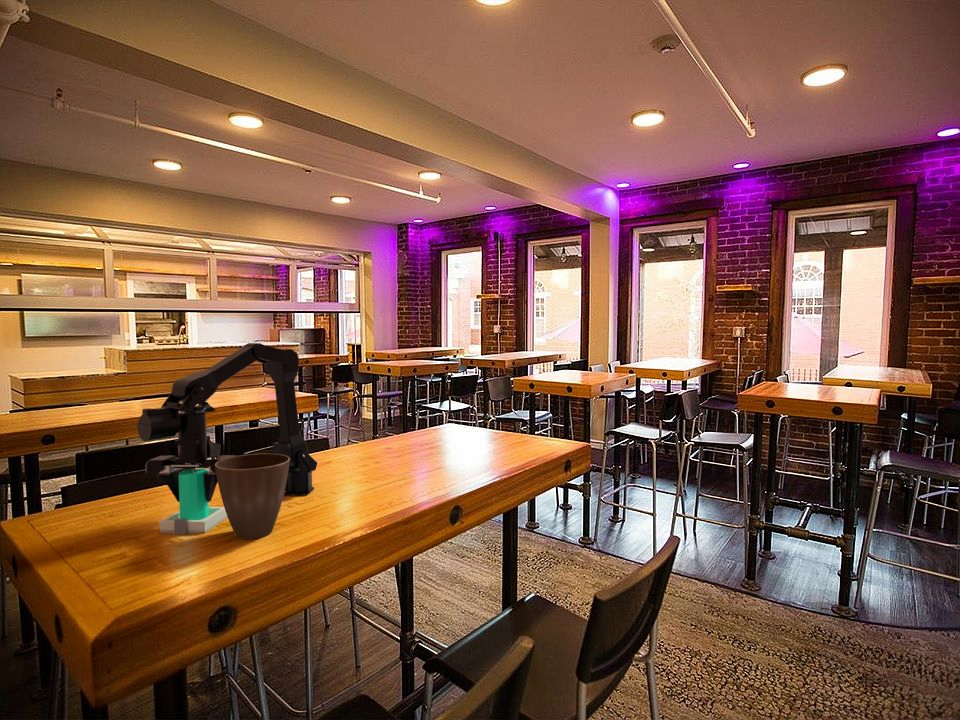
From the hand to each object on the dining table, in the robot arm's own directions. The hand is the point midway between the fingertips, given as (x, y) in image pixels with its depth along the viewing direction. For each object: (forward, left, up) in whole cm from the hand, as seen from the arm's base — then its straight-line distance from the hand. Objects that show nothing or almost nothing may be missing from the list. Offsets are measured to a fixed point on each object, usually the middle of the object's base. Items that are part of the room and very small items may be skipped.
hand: (194, 501), depth 120 cm
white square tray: (0, 0, -5) cm, 5 cm away
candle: (0, 0, -4) cm, 4 cm away
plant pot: (-16, +5, -6) cm, 18 cm away
